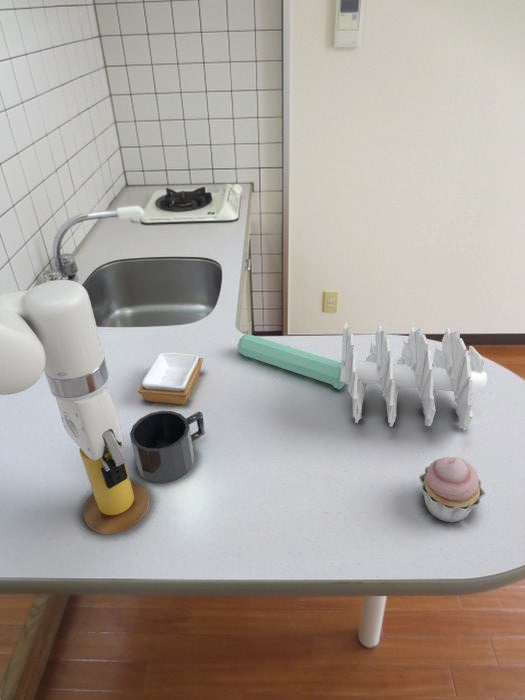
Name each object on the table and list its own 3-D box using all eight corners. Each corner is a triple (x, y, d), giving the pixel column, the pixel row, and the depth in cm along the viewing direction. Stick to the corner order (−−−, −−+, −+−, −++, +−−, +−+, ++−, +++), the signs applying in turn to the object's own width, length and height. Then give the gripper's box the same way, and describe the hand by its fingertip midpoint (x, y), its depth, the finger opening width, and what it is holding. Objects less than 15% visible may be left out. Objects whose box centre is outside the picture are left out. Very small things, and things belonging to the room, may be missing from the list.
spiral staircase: (472, 449, 96) (334, 435, 98) (465, 364, 104) (339, 353, 107) (508, 408, 80) (343, 393, 82) (496, 312, 89) (348, 301, 91)
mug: (157, 493, 85) (150, 460, 81) (127, 461, 91) (119, 429, 87) (221, 452, 92) (217, 420, 88) (190, 425, 98) (185, 394, 94)
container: (235, 331, 113) (340, 364, 101) (250, 329, 118) (352, 359, 106) (231, 357, 115) (334, 392, 103) (246, 354, 120) (346, 387, 108)
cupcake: (461, 478, 85) (472, 433, 79) (489, 526, 77) (505, 480, 72) (405, 486, 84) (413, 441, 78) (429, 535, 76) (439, 489, 71)
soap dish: (188, 410, 102) (185, 389, 99) (140, 405, 103) (136, 385, 100) (205, 371, 112) (202, 352, 109) (161, 368, 113) (157, 349, 111)
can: (90, 510, 81) (71, 454, 74) (110, 483, 85) (93, 428, 78) (122, 519, 79) (105, 463, 72) (140, 491, 83) (126, 435, 77)
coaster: (71, 525, 80) (70, 522, 80) (107, 477, 88) (106, 475, 88) (128, 541, 78) (127, 539, 77) (160, 490, 85) (159, 488, 85)
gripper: (24, 358, 71) (58, 453, 82) (80, 419, 61) (112, 520, 71) (75, 337, 75) (102, 430, 86) (137, 390, 65) (159, 489, 75)
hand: (106, 469), depth 78 cm, fingers closed on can, 5 cm apart
